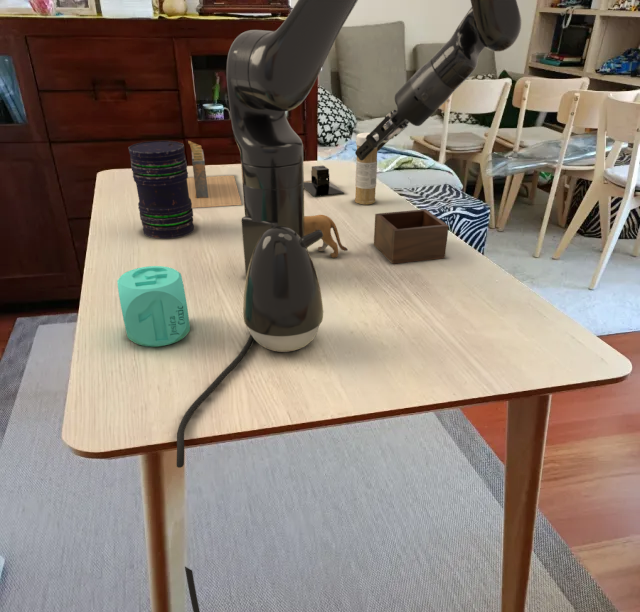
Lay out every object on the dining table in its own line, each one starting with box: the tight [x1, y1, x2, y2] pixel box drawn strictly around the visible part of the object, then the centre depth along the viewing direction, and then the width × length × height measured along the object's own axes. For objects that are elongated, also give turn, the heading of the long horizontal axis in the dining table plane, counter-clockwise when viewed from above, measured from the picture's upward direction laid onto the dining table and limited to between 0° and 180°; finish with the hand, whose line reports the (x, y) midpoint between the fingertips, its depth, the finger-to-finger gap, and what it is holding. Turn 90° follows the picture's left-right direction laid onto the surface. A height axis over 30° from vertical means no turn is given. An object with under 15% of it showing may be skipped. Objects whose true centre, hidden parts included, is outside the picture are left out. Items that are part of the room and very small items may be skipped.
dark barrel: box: [128, 140, 195, 240], centre depth 112 cm, size 10×10×15 cm
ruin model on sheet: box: [187, 140, 243, 209], centre depth 136 cm, size 25×16×10 cm, turn 11°
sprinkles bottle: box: [354, 132, 379, 205], centre depth 127 cm, size 5×5×13 cm
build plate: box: [304, 165, 345, 198], centre depth 139 cm, size 12×7×5 cm, turn 20°
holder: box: [373, 208, 450, 265], centre depth 106 cm, size 10×10×6 cm
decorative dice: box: [116, 265, 191, 348], centre depth 80 cm, size 8×8×8 cm
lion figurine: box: [304, 214, 349, 259], centre depth 104 cm, size 15×5×9 cm, turn 92°
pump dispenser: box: [242, 226, 324, 353], centre depth 76 cm, size 10×10×15 cm
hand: (366, 152), depth 125 cm, fingers open, 8 cm apart
